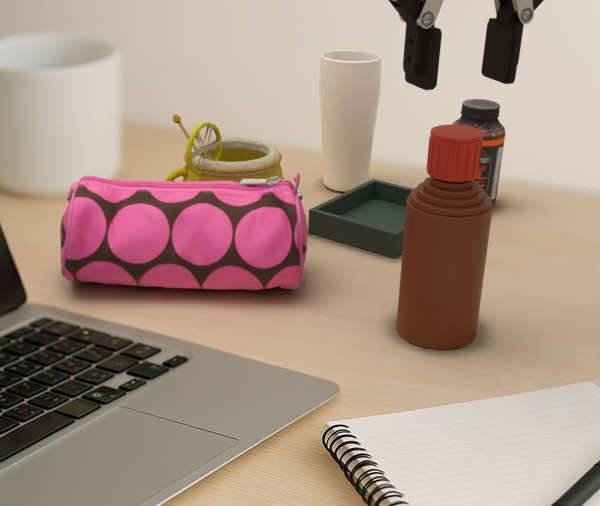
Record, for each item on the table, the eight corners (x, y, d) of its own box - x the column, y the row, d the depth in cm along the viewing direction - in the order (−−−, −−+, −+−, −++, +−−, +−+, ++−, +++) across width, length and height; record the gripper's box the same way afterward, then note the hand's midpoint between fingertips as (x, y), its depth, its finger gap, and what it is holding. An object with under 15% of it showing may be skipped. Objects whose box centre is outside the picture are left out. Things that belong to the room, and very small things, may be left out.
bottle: (420, 303, 71) (438, 120, 64) (489, 326, 68) (516, 135, 60) (381, 332, 66) (395, 138, 59) (453, 358, 63) (477, 156, 56)
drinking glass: (379, 180, 99) (388, 52, 92) (366, 198, 94) (374, 63, 87) (325, 173, 101) (329, 47, 94) (309, 191, 95) (312, 58, 88)
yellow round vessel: (267, 200, 93) (266, 93, 87) (300, 237, 84) (302, 120, 78) (153, 213, 89) (145, 101, 83) (175, 253, 80) (168, 130, 74)
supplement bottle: (439, 209, 91) (449, 107, 86) (444, 192, 96) (454, 94, 91) (494, 215, 90) (508, 111, 84) (496, 197, 95) (509, 98, 90)
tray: (371, 199, 93) (373, 178, 92) (453, 221, 88) (455, 198, 87) (308, 232, 85) (308, 209, 84) (393, 258, 79) (395, 234, 78)
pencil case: (302, 257, 79) (304, 156, 75) (308, 305, 71) (311, 194, 66) (76, 258, 78) (64, 155, 74) (54, 306, 70) (39, 193, 65)
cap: (441, 162, 63) (445, 121, 62) (487, 172, 61) (492, 130, 60) (417, 175, 61) (420, 132, 59) (464, 186, 59) (469, 142, 57)
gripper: (567, -208, 56) (526, 65, 64) (337, -227, 49) (325, 79, 58) (649, -217, 50) (593, 86, 58) (398, -240, 43) (375, 104, 52)
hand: (459, 80), depth 58 cm, fingers open, 5 cm apart
